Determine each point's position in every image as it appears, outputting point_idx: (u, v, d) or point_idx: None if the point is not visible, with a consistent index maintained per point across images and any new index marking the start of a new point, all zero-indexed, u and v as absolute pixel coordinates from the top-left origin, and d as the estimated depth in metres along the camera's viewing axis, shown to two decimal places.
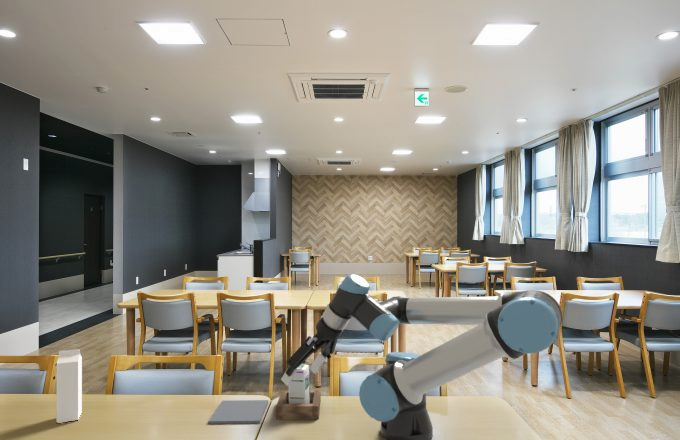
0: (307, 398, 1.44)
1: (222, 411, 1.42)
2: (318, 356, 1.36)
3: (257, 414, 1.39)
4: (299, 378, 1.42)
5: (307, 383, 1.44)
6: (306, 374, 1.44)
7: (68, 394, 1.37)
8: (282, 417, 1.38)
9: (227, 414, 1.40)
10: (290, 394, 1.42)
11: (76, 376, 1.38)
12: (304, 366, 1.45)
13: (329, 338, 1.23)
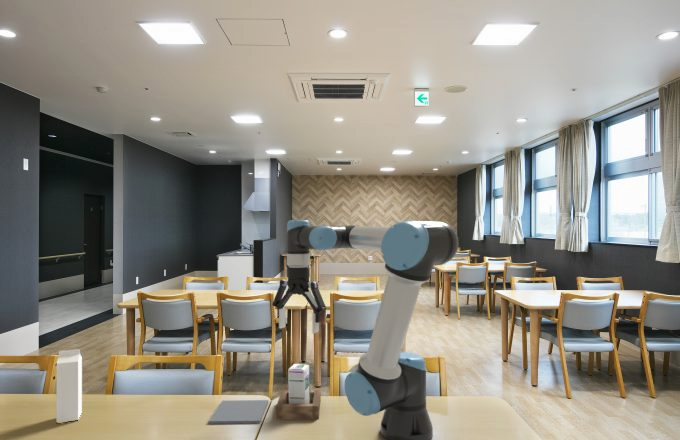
0: (307, 398, 1.44)
1: (222, 411, 1.42)
2: None
3: (257, 414, 1.39)
4: (299, 378, 1.42)
5: (307, 383, 1.44)
6: (306, 374, 1.44)
7: (68, 394, 1.37)
8: (282, 417, 1.38)
9: (227, 414, 1.40)
10: (290, 394, 1.42)
11: (76, 376, 1.38)
12: (304, 366, 1.45)
13: (287, 276, 1.44)
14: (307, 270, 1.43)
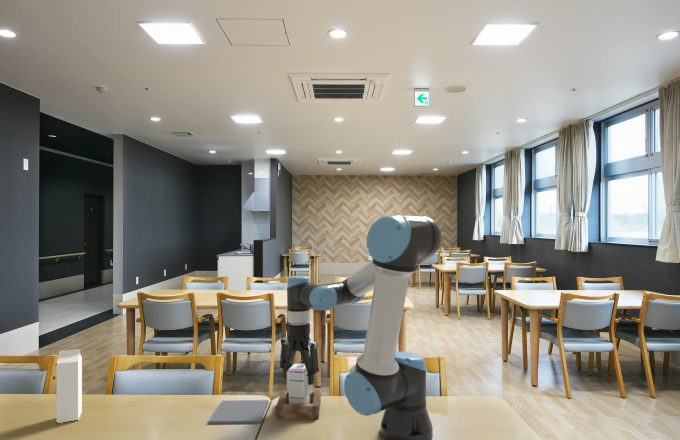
0: (307, 398, 1.44)
1: (222, 411, 1.42)
2: None
3: (257, 414, 1.39)
4: (299, 378, 1.42)
5: None
6: None
7: (68, 394, 1.37)
8: (282, 417, 1.38)
9: (227, 414, 1.40)
10: (290, 394, 1.42)
11: (76, 376, 1.38)
12: None
13: None
14: (307, 327, 1.43)
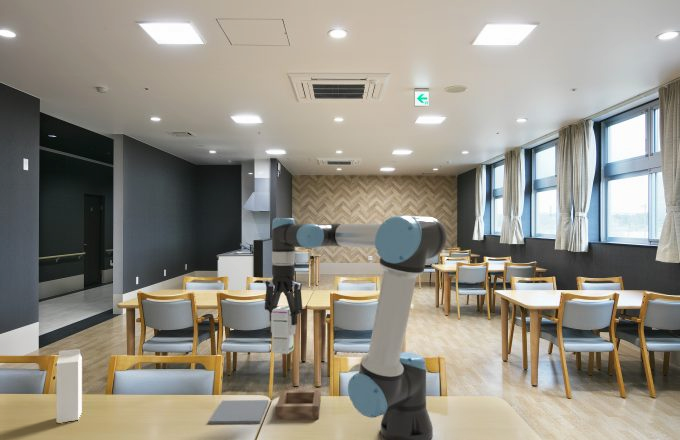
0: (291, 339, 1.44)
1: (222, 411, 1.42)
2: None
3: (257, 414, 1.39)
4: (283, 318, 1.42)
5: None
6: None
7: (68, 394, 1.37)
8: (282, 417, 1.38)
9: (227, 414, 1.40)
10: (274, 334, 1.43)
11: (76, 376, 1.38)
12: None
13: (272, 273, 1.44)
14: (292, 268, 1.43)
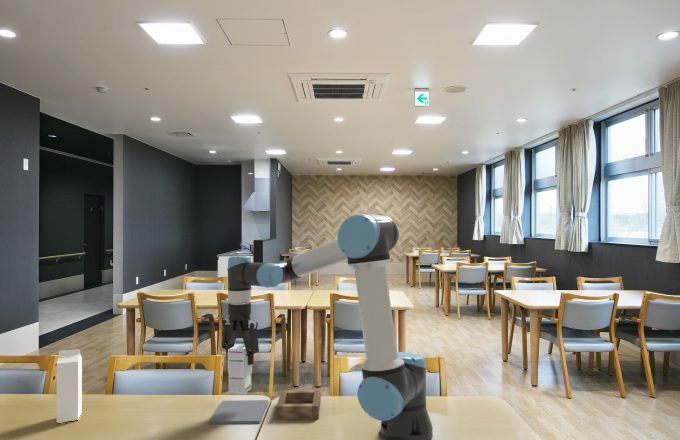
0: (248, 379, 1.43)
1: (222, 411, 1.42)
2: None
3: (257, 414, 1.39)
4: (239, 358, 1.40)
5: None
6: None
7: (68, 394, 1.37)
8: (282, 417, 1.38)
9: (227, 414, 1.40)
10: (230, 374, 1.41)
11: (76, 376, 1.38)
12: None
13: (228, 312, 1.42)
14: (248, 307, 1.42)
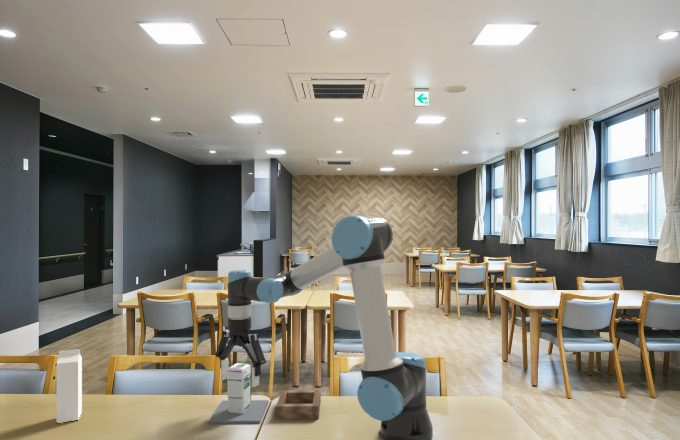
0: (247, 398, 1.42)
1: (222, 411, 1.42)
2: None
3: (257, 414, 1.39)
4: (238, 377, 1.40)
5: (247, 383, 1.43)
6: (246, 373, 1.43)
7: (68, 394, 1.37)
8: (282, 417, 1.38)
9: (227, 414, 1.40)
10: (229, 393, 1.41)
11: (76, 376, 1.38)
12: (245, 365, 1.44)
13: (228, 327, 1.42)
14: (248, 322, 1.42)
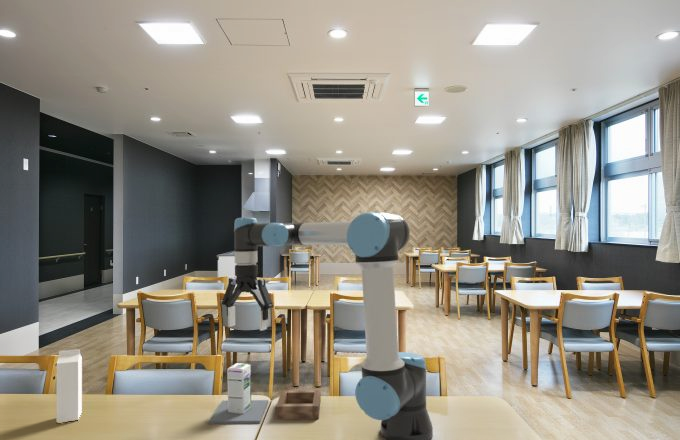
0: (247, 398, 1.42)
1: (222, 411, 1.42)
2: None
3: (257, 414, 1.39)
4: (238, 377, 1.40)
5: (247, 383, 1.43)
6: (246, 373, 1.43)
7: (68, 394, 1.37)
8: (282, 417, 1.38)
9: (227, 414, 1.40)
10: (229, 393, 1.41)
11: (76, 376, 1.38)
12: (245, 365, 1.44)
13: None
14: (254, 268, 1.43)
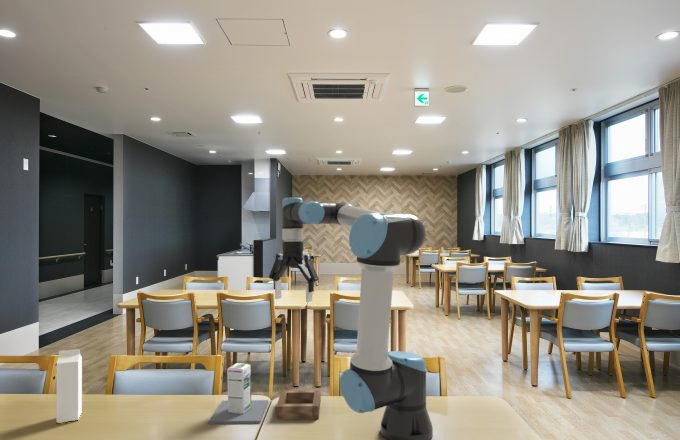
0: (247, 398, 1.42)
1: (222, 411, 1.42)
2: None
3: (257, 414, 1.39)
4: (238, 377, 1.40)
5: (247, 383, 1.43)
6: (246, 373, 1.43)
7: (68, 394, 1.37)
8: (282, 417, 1.38)
9: (227, 414, 1.40)
10: (229, 393, 1.41)
11: (76, 376, 1.38)
12: (245, 365, 1.44)
13: (282, 249, 1.55)
14: (301, 244, 1.54)
